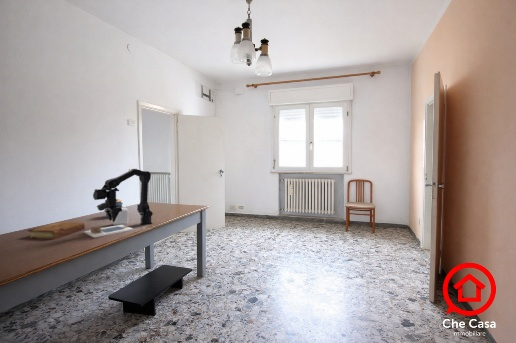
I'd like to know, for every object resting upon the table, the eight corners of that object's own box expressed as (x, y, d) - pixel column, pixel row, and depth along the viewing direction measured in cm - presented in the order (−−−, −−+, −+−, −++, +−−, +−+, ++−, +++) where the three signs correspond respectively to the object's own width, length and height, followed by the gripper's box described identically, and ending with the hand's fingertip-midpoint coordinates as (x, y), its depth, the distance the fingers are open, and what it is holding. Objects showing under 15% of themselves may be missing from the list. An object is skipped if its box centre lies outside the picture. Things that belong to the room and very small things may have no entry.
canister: (126, 216, 228) (126, 196, 227) (115, 219, 215) (114, 198, 215) (113, 216, 231) (113, 196, 230) (101, 219, 218) (101, 197, 217)
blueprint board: (121, 226, 194) (121, 220, 193) (133, 229, 182) (132, 224, 182) (84, 232, 175) (84, 226, 175) (93, 237, 164) (93, 231, 164)
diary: (54, 240, 161) (54, 230, 160) (27, 239, 163) (27, 230, 163) (84, 230, 183) (84, 222, 183) (60, 229, 186) (60, 221, 186)
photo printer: (127, 222, 204) (127, 206, 204) (128, 223, 201) (128, 207, 200) (112, 224, 199) (112, 208, 198) (113, 225, 195) (112, 209, 195)
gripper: (93, 198, 179) (93, 221, 180) (103, 200, 167) (104, 225, 168) (110, 196, 188) (111, 218, 188) (122, 198, 176) (122, 222, 176)
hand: (112, 221), depth 180 cm, fingers open, 5 cm apart
